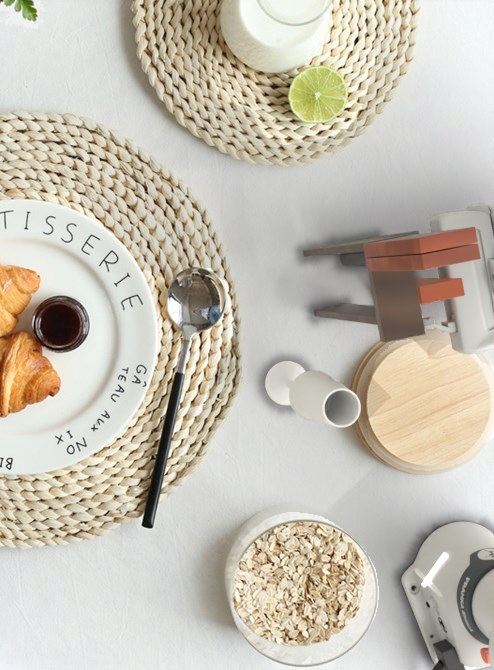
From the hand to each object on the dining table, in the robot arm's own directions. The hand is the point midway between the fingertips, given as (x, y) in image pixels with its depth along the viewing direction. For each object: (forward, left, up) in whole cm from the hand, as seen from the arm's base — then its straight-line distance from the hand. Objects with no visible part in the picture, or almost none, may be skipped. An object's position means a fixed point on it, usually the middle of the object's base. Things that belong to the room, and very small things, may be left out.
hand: (413, 291), depth 116 cm
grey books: (+7, +4, -8) cm, 11 cm away
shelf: (+3, +10, +16) cm, 19 cm away
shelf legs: (+3, +10, -8) cm, 13 cm away
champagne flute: (-10, +18, -8) cm, 23 cm away
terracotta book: (0, -1, -8) cm, 8 cm away
